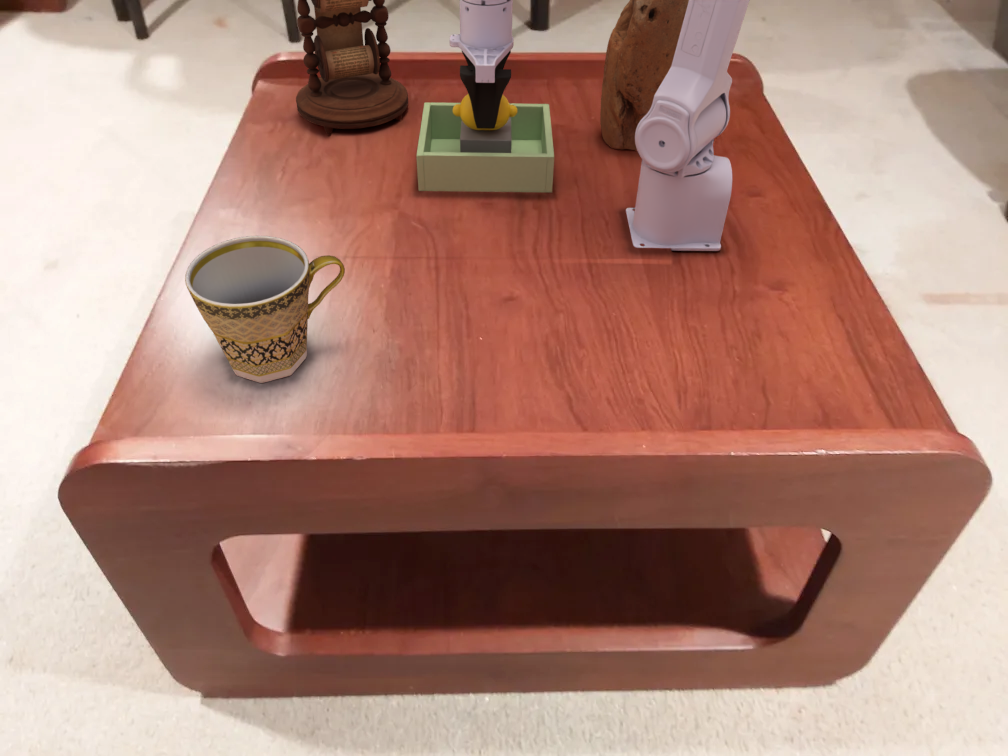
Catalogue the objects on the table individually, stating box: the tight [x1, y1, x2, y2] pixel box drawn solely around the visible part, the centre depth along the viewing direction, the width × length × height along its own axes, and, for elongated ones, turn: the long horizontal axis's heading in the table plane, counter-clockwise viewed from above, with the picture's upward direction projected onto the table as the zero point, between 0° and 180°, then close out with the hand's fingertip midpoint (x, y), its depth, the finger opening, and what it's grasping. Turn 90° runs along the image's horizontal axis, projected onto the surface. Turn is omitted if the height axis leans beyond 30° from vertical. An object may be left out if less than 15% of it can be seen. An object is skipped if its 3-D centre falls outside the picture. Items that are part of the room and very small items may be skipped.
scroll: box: [295, 0, 409, 136], centre depth 104 cm, size 15×15×20 cm
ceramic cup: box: [184, 235, 346, 384], centre depth 72 cm, size 13×10×10 cm
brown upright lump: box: [599, 0, 689, 152], centre depth 99 cm, size 11×8×20 cm
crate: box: [415, 101, 555, 193], centre depth 99 cm, size 16×14×5 cm
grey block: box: [460, 117, 512, 153], centre depth 99 cm, size 6×6×4 cm
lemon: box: [453, 93, 517, 130], centre depth 96 cm, size 8×4×4 cm, turn 90°
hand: (485, 117), depth 96 cm, fingers closed on lemon, 4 cm apart
